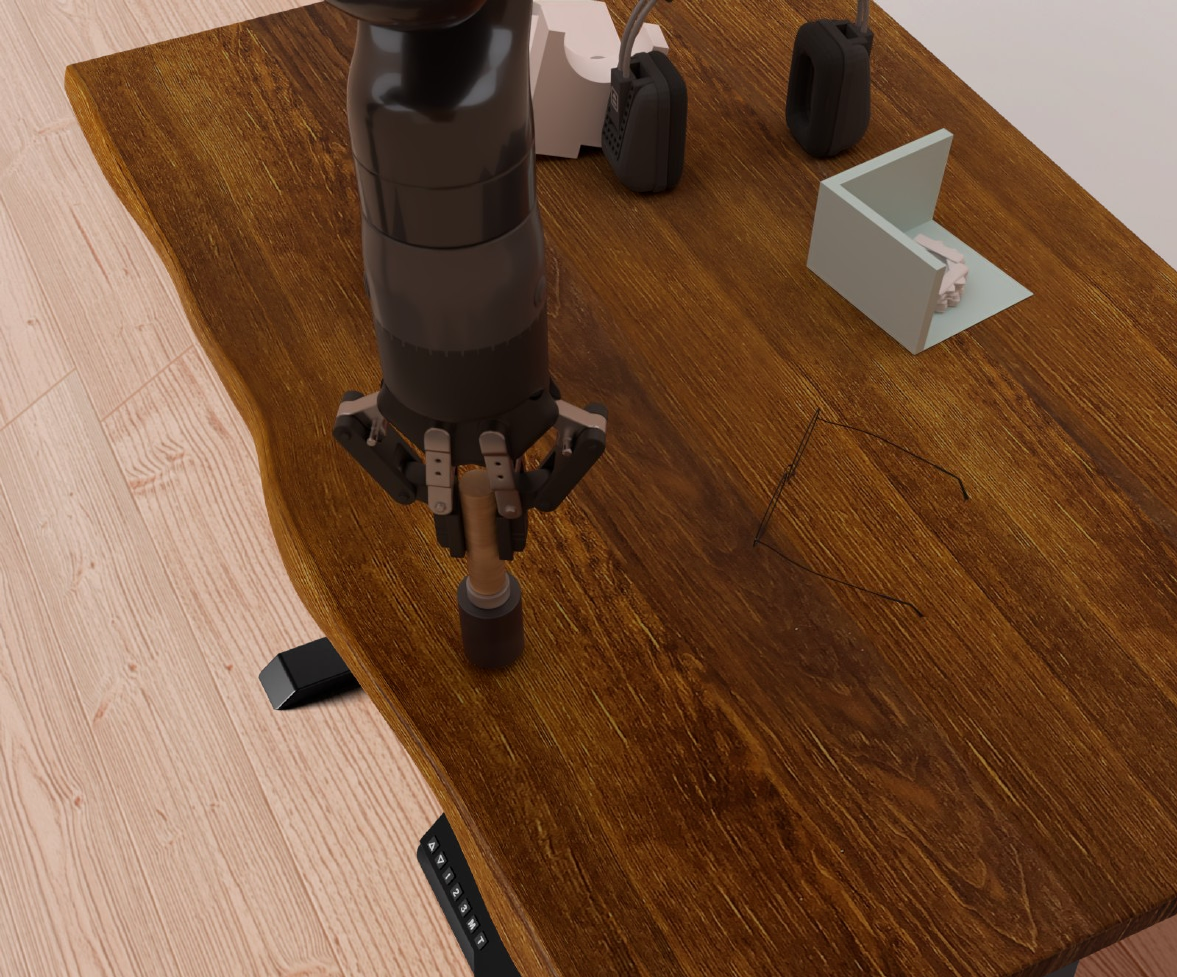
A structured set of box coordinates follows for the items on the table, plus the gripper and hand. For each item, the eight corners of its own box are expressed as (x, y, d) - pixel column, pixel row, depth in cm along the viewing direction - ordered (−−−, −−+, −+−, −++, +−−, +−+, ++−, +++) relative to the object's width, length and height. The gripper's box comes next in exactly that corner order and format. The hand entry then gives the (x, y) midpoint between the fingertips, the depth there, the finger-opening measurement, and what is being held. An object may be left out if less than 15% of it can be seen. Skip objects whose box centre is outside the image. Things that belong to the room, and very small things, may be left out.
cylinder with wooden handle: (459, 667, 73) (437, 507, 62) (467, 617, 76) (447, 454, 65) (521, 671, 73) (509, 511, 62) (527, 621, 76) (517, 458, 64)
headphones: (838, 112, 109) (879, -133, 94) (871, 153, 106) (920, -95, 90) (595, 161, 105) (596, -87, 89) (621, 205, 101) (626, -46, 86)
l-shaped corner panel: (914, 355, 91) (936, 270, 85) (806, 266, 97) (820, 181, 91) (1033, 294, 95) (1063, 209, 89) (923, 212, 101) (943, 128, 95)
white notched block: (632, 165, 107) (669, 48, 99) (520, 151, 104) (549, 29, 96) (591, 53, 118) (621, -60, 110) (488, 38, 115) (512, -80, 107)
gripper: (625, 238, 56) (617, 501, 69) (315, 224, 56) (367, 487, 70) (615, 354, 51) (609, 610, 65) (277, 337, 52) (342, 595, 65)
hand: (483, 545), depth 67 cm, fingers closed on cylinder with wooden handle, 2 cm apart
